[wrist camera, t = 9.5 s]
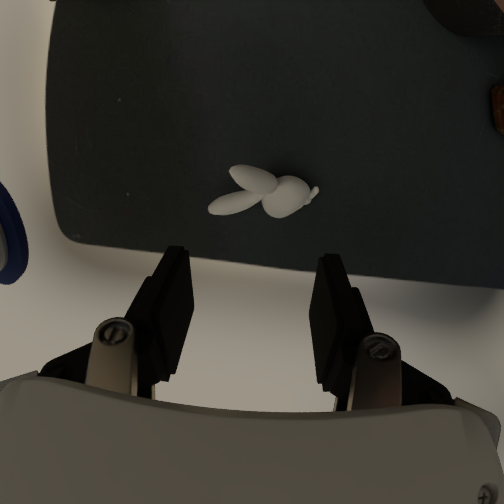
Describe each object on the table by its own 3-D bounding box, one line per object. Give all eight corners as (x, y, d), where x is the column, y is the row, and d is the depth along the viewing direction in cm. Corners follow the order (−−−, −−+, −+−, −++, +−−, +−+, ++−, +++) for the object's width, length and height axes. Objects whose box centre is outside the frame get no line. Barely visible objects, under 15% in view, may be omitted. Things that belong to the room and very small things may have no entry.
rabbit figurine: (295, 231, 25) (204, 230, 21) (284, 191, 26) (199, 185, 23) (339, 198, 20) (234, 188, 16) (323, 153, 21) (225, 136, 18)
